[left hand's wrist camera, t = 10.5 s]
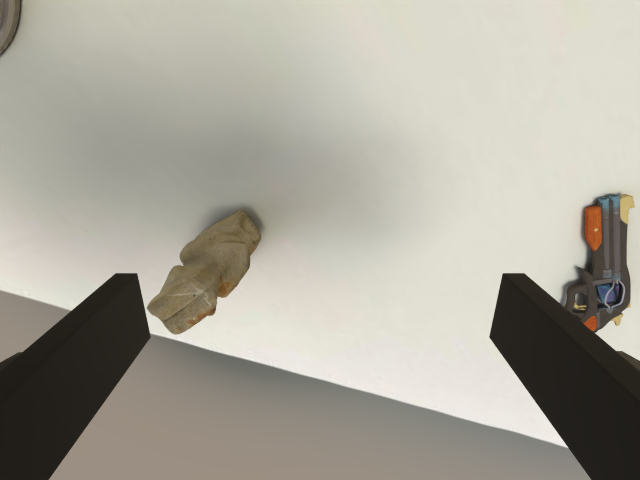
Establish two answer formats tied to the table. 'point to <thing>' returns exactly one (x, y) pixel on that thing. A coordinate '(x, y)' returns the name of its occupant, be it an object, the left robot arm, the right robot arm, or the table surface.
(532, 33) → the table surface
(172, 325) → the sculpture
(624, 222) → the toy gun
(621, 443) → the left robot arm
